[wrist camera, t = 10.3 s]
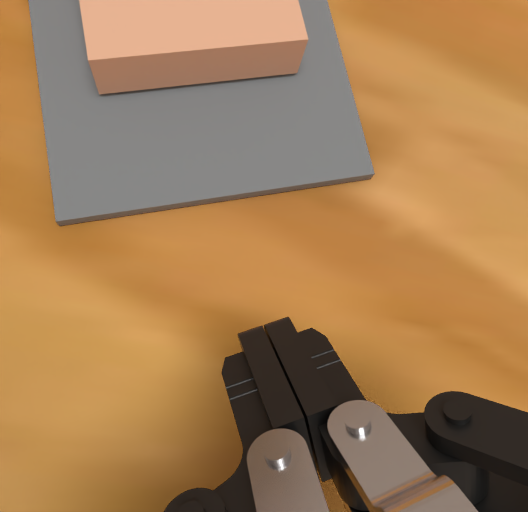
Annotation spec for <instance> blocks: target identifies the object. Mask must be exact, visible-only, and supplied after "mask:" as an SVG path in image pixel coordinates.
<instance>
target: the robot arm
mask: <svg viewBox="0 0 528 512" xmlns="http://www.w3.org/2000/svg"><path fill="white" fill-rule="evenodd" d="M264 330H265V331H264ZM238 338H239V341H240V345H241V348H242V351H243V352H240V353H237V354H234V355H232V356H229V357H226V358H225V361H224V365H223V369H222V376H223V379H224V383H225V386H226V389H227V393H228V396H229V400H230V403H231V407H232V410H233V414H234V417H235V420H236V424H237V427H238V431H239V434H240V438H241V441H242V445H243V455H242V460H241V462H240V465H239V466H238V468H237V470H236V471H235V473H234V474H233V475H232V476H231V477H230V478H229V479H228V480H227V481H225V482H224V483H223V484H221V485H220V486H219V487H217V488H216V489H215V490H213V491H212V490H210V489H206V488H195V489H191V490H187V491H185V492H183V493H181V494H180V495H178V496H177V497H176V498H174V499H173V500H172V501H171V502H170V503H169V505H168V506H167V507H166V509H165V510H164V512H329V509H328V506H327V503H326V500H325V497H324V494H323V491H322V488H321V485H320V481H319V477H318V473H319V475H320V477H321V480H322V482H324V481H326V480H329V479H331V478H332V479H333V482H334V484H335V486H336V488H337V490H338V492H339V495H340V496H341V498H342V499H343V503H344V506H345V508H346V510H347V512H528V412H524V411H521V410H518V409H515V408H512V407H509V406H505V405H502V404H499V403H496V402H493V401H490V400H487V399H483V398H480V397H477V396H474V395H471V394H468V393H464V392H457V391H450V392H444V393H440V394H438V395H436V396H434V397H433V398H432V399H430V400H429V402H428V403H427V404H426V407H425V411H424V412H423V413H410V414H391V413H386V412H385V411H384V410H383V409H382V408H381V407H379V406H378V405H376V404H375V403H372V402H369V401H366V399H365V398H364V396H363V395H362V393H361V392H360V390H359V388H358V387H357V385H356V384H355V382H354V380H353V379H352V377H351V376H350V374H349V373H348V371H347V369H346V368H345V366H344V365H343V363H342V361H340V358H339V357H338V355H337V353H336V352H335V351H334V349H333V347H332V345H331V344H330V342H329V341H328V339H327V337H326V336H325V335H323V334H321V333H320V332H318V331H316V330H315V329H313V328H310V329H307V330H304V331H301V332H298V333H297V331H296V329H295V327H294V325H293V324H292V322H291V320H290V318H289V317H286V318H283V319H280V320H277V321H274V322H271V323H268V324H265V325H264V328H263V326H259V327H256V328H253V329H250V330H247V331H244V332H241V333H238ZM316 468H317V469H316ZM317 470H318V473H317Z"/></svg>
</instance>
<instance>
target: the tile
mask: <svg viewBox="0 0 528 512" xmlns="http://www.w3.org/2000/svg"><path fill="white" fill-rule="evenodd" d="M79 3H80V9H81V16H82V23H83V29H84V36H85V43H86V49H87V56H88V62H89V65H90V68H91V71H92V74H93V77H94V80H95V83H96V86H97V89H98V92H99V94H108V93H118V92H127V91H136V90H145V89H155V88H164V87H173V86H182V85H192V84H201V83H210V82H220V81H229V80H238V79H247V78H257V77H266V76H275V75H284V74H294V73H297V72H298V69H299V66H300V63H301V60H302V57H303V54H304V51H305V48H306V45H307V42H308V36H307V32H306V28H305V24H304V20H303V16H302V13H301V9H300V5H299V1H298V0H79Z"/></svg>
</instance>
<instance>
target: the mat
mask: <svg viewBox="0 0 528 512" xmlns="http://www.w3.org/2000/svg"><path fill="white" fill-rule="evenodd" d="M28 1H29V9H30V17H31V25H32V33H33V42H34V50H35V58H36V66H37V74H38V82H39V90H40V98H41V106H42V114H43V122H44V130H45V138H46V146H47V154H48V162H49V170H50V178H51V186H52V194H53V203H54V211H55V219H56V222H57V223H58V225H59V226H62V225H69V224H76V223H82V222H89V221H96V220H102V219H109V218H115V217H122V216H129V215H135V214H142V213H148V212H155V211H162V210H168V209H175V208H181V207H188V206H195V205H201V204H208V203H214V202H221V201H228V200H234V199H241V198H248V197H254V196H261V195H267V194H274V193H281V192H287V191H294V190H300V189H307V188H314V187H320V186H327V185H333V184H340V183H347V182H353V181H360V180H366V179H371V177H372V176H373V175H374V174H375V173H374V170H373V166H372V162H371V159H370V155H369V151H368V148H367V144H366V141H365V137H364V133H363V130H362V126H361V122H360V119H359V115H358V111H357V108H356V104H355V100H354V97H353V93H352V89H351V86H350V82H349V79H348V75H347V71H346V68H345V64H344V60H343V57H342V53H341V49H340V46H339V42H338V38H337V35H336V31H335V28H334V24H333V20H332V17H331V13H330V9H329V6H328V2H327V0H298V1H299V5H300V9H301V13H302V16H303V20H304V24H305V28H306V32H307V36H308V42H307V45H306V48H305V51H304V54H303V57H302V60H301V63H300V66H299V69H298V72H297V73H294V74H284V75H275V76H266V77H257V78H247V79H238V80H229V81H220V82H210V83H201V84H192V85H182V86H173V87H164V88H155V89H145V90H136V91H127V92H118V93H108V94H99V92H98V89H97V86H96V83H95V80H94V77H93V74H92V71H91V68H90V65H89V62H88V56H87V49H86V43H85V36H84V29H83V23H82V16H81V9H80V3H79V0H28Z"/></svg>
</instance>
